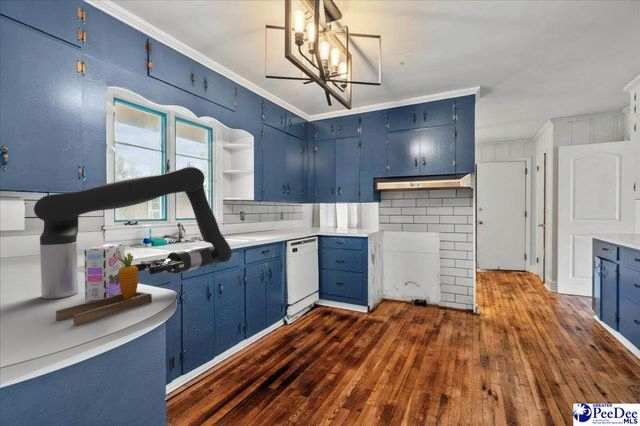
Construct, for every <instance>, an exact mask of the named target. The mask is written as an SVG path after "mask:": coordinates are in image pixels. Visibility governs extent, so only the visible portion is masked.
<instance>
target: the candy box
mask: <svg viewBox="0 0 640 426" xmlns="http://www.w3.org/2000/svg"><path fill="white" fill-rule="evenodd" d="M125 256H126V255H125V243H106V244H103V245H99V246H98V245H97V246H94V247H89V248H84V284H85V285H84V286H85V287H84V291H85V292H84V293H85V295H84V296H85V303H88V302H91V301H95V300H99V299H103V298H107V297H111V296H113V295H114V294H118V293H121V289H120V285H119V273H118V271H119V269H120V268H121V267H123V266H125V265H124V263H123V262H122V261H120V260H118V259H119V258H122V259H123V260H124V261H125V259H124V257H125Z"/></svg>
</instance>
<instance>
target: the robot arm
mask: <svg viewBox="0 0 640 426" xmlns="http://www.w3.org/2000/svg"><path fill="white" fill-rule="evenodd" d="M204 183H205V174H204V173H203V171H202V170H201V169H199V168H198V167H196V166H193V165H192V166H191V165H190V166H185V167H183V168H180V169H177V170H173V171H170V172H166V173H162V174H157V175H149V176H148V175H145V176H138V177H132V178H127V179H123V180H117V181H113V182H109V183H106V184H101V185H98V186H95V187H91V188H87V189H84V190H79V191H72V192H62V193H54V194H47V195H45V196H42V197H40V198H39V199H38V200H37V201H35V204H34V207H33V212H34V214H35V216H36V217H37V218H38V219H40V220H41V221H43V230H42V233H41V234H40V236H39V253H40V254H39V255H40V277H41V278H40V280H41V281H40V282H41V285H40V286H41V298H42V299H45V300H46V299H49V300H51V299H52V300H53V299H60V298H66V297H70V296H75V295H77V294H78V293H79V276H78V242H77V239H78V233H79V215H80V216H81V215H83V214H88V213H91V212H98V211H107V210H108V211H109V210H116V209H122V208H127V207H130V206H135V205H139V204H143V203H146V202H150V201H153V200H155V199H158V198H161V197H164V196H167V195H171V194H177V193H185V194H186V196H187V198H188V200H189V203H190V205H191V207H192V210H193V213H194V218H195V220H196V221H195V222H196V225H197V227H198V229H199V233H200V235H201V238H202V240H203V241H204V242H205V243H209V244H211V246H207V247H206V246H205V247H200V248H193V249H182V250H178V251H172V252H170V253H169V254H168V255H167V257H165V258H159V259H158V258H154V259H149V260H142V261H140V263H138V264H132V265H133V266H136V267H137V268H138V272H141V271H148V272H149V275H155V274H156V275H157V274H159V273H162V274H163V273H164V274H165V273H169V274H170V273H171V274H175V275H177V274H182V273H185V272H191V271H192V270H193V271H194V270H195V269H199V268H203V267H206V266H209V265H212V264H219V263H220V264H221V263H226V262H229V261H230V260H231V257H232V249H231V246H230V244H229V242H228V241H227V240H226V238H225V237H224V235H223V234H222V233H221V231H220V230H221V229H220V227H219V225H218V223H217V219H216V217H215V215H214V213H213V211H212V209H211V206H210V203H209V202H208V198H207V196H206V191H205V188H204Z"/></svg>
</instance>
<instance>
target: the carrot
mask: <svg viewBox="0 0 640 426" xmlns="http://www.w3.org/2000/svg"><path fill="white" fill-rule="evenodd" d="M124 259H125V261H124V260H123V259H122V258H119V259H118V260H120V261H122V262H123V263H124V265H125V266H123V267H121V268H120V269H119V271H118V273H119V285H120V289H121V292H120V293H122V295H123V297H124V299H125V300H129V299H130V298H132V297H135V294H136V292H138V285H139V283H138V282H139V271H138V268H137V267H136V266H133V265H134V264H132V262H133V259H134V255H132V253H129V252H128V253H127V254H126V255H125V257H124Z"/></svg>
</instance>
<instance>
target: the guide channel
mask: <svg viewBox="0 0 640 426" xmlns="http://www.w3.org/2000/svg"><path fill="white" fill-rule="evenodd" d="M152 297H153V295H152V293H147V292H142V291H136V294H135V297H132V298H130V299H129V300H125V299H124V297H123V295H122V293H121V292H120V293H118V294H114V295H113V296H111V297H107V298H103V299H99V300H95V301H91V302H85V303H81V304H77V305H72V306H69V307H64V308H61V309H58V310H55V318H56V319H55V321H57V322H60V321H63V320H66V319H70V318H73V326H75V327H77V326H79V325H80V326H81V325H82V324H83V325H84V324H87V323H89V322H92V321H96V320H99V319H103V318H106V317H109V316H112V315H114V314H118V313H121V312H125V311H129V310H131V309H134V308H138V307H141V306H143V305H147V304H150V303H152V301H153V300H152Z"/></svg>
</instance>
